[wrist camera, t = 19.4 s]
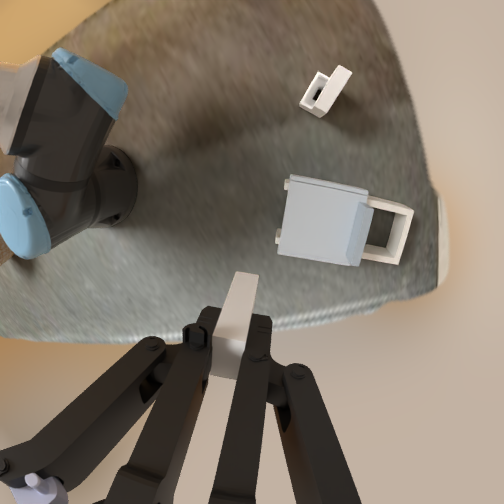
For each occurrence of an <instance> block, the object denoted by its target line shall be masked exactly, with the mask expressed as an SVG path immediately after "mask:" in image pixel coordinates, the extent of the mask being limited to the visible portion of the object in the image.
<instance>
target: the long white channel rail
mask: <svg viewBox="0 0 504 504" xmlns="http://www.w3.org/2000/svg"><path fill="white" fill-rule="evenodd" d="M293 181H295V180H293ZM289 182H290V179H285V182H284V190H288V188H289ZM299 182H300V181H299ZM305 183H306V182H305ZM310 184H311V183H310ZM315 185H316V184H315ZM321 186H322V185H321ZM326 187H327V186H326ZM331 188H332V187H331ZM335 189H337V188H335ZM340 190H341V189H340ZM345 191H346V190H345ZM350 192H351V191H350ZM354 193H355V192H354ZM363 195H364V194H363ZM367 196H368V198H367V204H368V205H369V206H371V207H374V208H379V209H383V210H387V211H391V212H395V217H394V221H393V224H392V228H391V232H390V235H389V239H388V242H387V246H386V248H384V247H379V246H374V245H369V244H365V247H364V251H363V254H362V257H361V258H363V259H368V260H374V261H380V262H385V263H391V264H396V265H398V263H399V260H400V257H401V254H402V251H403V248H404V245H405V241H406V238H407V235H408V231H409V228H410V224H411V220H412V217H413V213H414V210H412V209H411V208H409V207H407V206H405V205H404V204H401V203H397V202H393V201H389V200H385V199H381V198H377V197H373V196H369V195H367ZM281 230H282V229H279V228H277V231H276V239H275V244H279V241H280V235H281Z"/></svg>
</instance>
